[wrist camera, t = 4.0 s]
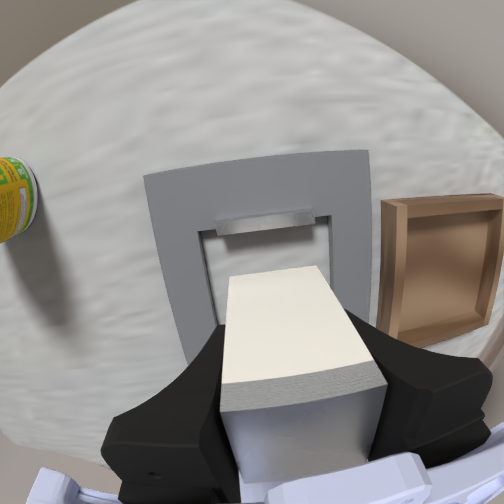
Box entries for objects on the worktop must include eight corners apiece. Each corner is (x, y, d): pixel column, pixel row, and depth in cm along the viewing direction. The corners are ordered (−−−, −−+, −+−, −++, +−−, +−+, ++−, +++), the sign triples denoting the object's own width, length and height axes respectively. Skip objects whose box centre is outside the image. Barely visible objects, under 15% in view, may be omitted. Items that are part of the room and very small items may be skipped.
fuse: (317, 336, 15) (365, 463, 7) (241, 346, 15) (244, 484, 7) (316, 265, 14) (387, 384, 6) (229, 276, 14) (219, 412, 6)
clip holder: (360, 354, 20) (367, 367, 18) (195, 377, 20) (193, 391, 18) (362, 149, 15) (373, 150, 14) (147, 174, 15) (139, 177, 14)
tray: (474, 312, 19) (488, 324, 18) (374, 341, 20) (385, 357, 18) (490, 193, 16) (508, 198, 14) (381, 200, 16) (396, 206, 14)
